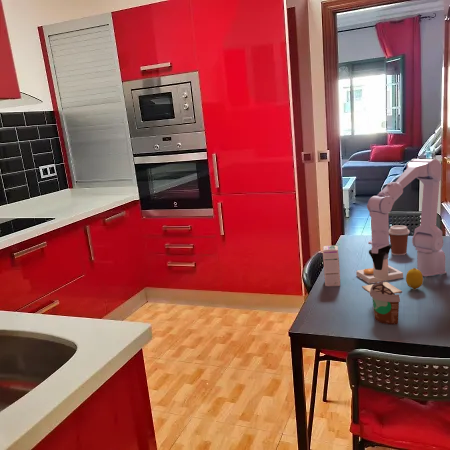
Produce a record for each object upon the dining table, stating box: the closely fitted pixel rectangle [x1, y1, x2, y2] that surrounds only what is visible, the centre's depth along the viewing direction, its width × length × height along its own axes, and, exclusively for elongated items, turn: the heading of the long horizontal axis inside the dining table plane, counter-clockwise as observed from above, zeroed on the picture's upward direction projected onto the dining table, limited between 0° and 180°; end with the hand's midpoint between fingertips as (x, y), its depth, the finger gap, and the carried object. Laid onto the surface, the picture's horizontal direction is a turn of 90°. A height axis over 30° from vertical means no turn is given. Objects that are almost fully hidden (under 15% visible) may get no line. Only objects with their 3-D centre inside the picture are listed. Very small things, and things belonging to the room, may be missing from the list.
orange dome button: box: [364, 268, 374, 275], centre depth 173 cm, size 4×4×3 cm
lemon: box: [405, 267, 424, 291], centre depth 157 cm, size 6×6×8 cm
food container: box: [369, 281, 401, 326], centre depth 138 cm, size 12×6×10 cm, turn 5°
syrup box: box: [322, 244, 341, 287], centre depth 170 cm, size 6×6×14 cm
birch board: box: [361, 281, 403, 295], centre depth 161 cm, size 10×10×1 cm
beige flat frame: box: [355, 264, 404, 285], centre depth 173 cm, size 14×10×2 cm
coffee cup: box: [389, 224, 411, 256], centre depth 197 cm, size 9×9×12 cm
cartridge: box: [372, 253, 389, 279], centre depth 159 cm, size 5×5×8 cm
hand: (380, 267), depth 159 cm, fingers closed on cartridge, 5 cm apart
